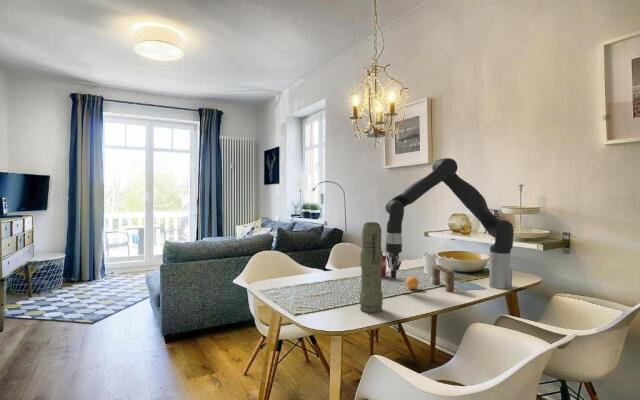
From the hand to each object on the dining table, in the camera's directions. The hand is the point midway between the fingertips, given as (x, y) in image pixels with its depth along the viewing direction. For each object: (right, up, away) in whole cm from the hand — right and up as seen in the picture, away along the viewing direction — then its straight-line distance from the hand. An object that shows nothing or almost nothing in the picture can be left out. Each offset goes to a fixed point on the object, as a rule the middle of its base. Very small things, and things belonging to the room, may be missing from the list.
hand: (393, 278), depth 171 cm
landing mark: (+39, -6, +7) cm, 40 cm away
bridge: (+25, -6, +5) cm, 26 cm away
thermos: (-15, -7, -28) cm, 32 cm away
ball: (+10, -3, +2) cm, 10 cm away
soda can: (-2, -5, +27) cm, 28 cm away
